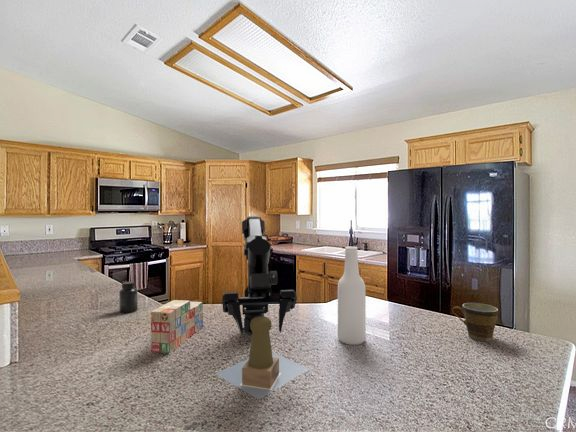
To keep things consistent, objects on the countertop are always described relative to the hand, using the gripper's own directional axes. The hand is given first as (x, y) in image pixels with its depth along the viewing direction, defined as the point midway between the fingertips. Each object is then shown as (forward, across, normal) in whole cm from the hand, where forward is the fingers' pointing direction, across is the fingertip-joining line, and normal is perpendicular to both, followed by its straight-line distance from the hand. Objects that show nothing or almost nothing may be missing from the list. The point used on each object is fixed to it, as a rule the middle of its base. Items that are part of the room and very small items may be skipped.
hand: (261, 332), depth 74 cm
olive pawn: (+5, 0, +7) cm, 8 cm away
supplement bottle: (-37, -52, +55) cm, 84 cm away
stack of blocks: (-13, -25, +31) cm, 42 cm away
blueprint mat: (+5, +1, +12) cm, 13 cm away
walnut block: (+7, 0, +9) cm, 12 cm away
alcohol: (-6, +30, +24) cm, 39 cm away
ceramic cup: (-3, +71, +20) cm, 74 cm away
